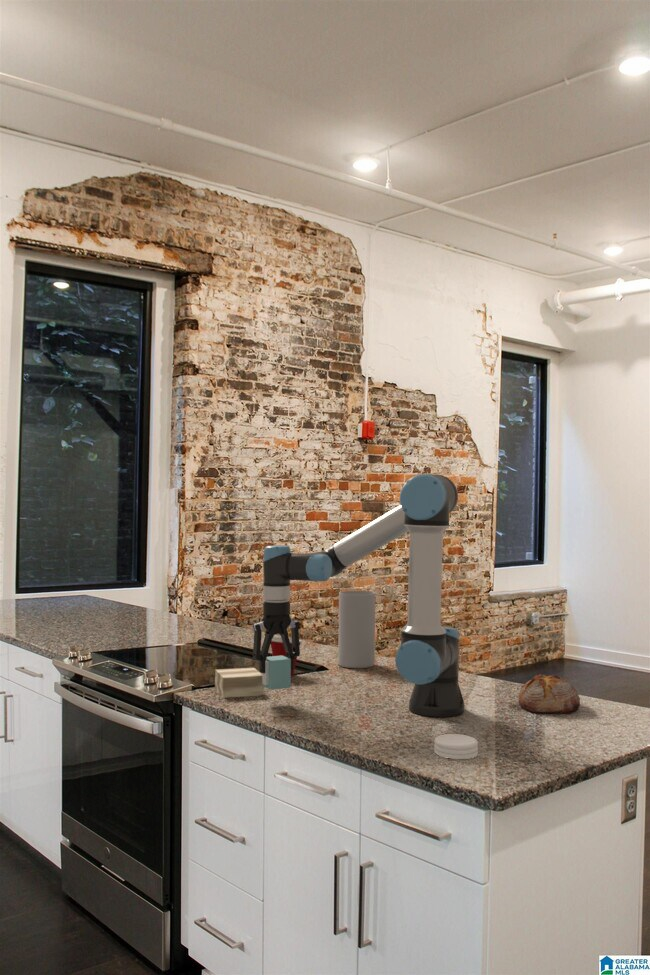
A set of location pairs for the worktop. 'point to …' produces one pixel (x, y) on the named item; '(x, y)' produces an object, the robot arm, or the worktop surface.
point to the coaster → (456, 746)
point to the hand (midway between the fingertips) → (276, 683)
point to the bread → (548, 695)
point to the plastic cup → (281, 649)
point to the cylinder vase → (356, 629)
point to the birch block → (238, 682)
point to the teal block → (279, 672)
